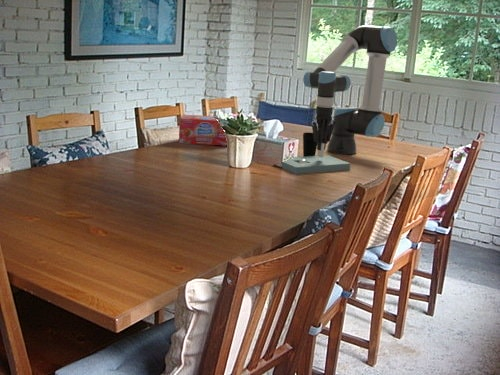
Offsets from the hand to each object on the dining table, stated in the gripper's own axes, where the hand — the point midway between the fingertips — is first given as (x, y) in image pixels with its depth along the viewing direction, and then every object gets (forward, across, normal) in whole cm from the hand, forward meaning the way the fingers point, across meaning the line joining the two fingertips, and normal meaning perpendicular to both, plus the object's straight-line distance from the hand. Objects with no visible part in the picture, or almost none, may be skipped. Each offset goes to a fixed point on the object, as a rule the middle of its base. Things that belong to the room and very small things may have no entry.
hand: (320, 156), depth 297 cm
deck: (+5, +4, 0) cm, 6 cm away
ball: (+3, +10, 0) cm, 10 cm away
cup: (+5, -6, -17) cm, 18 cm away
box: (+5, +29, -62) cm, 69 cm away
